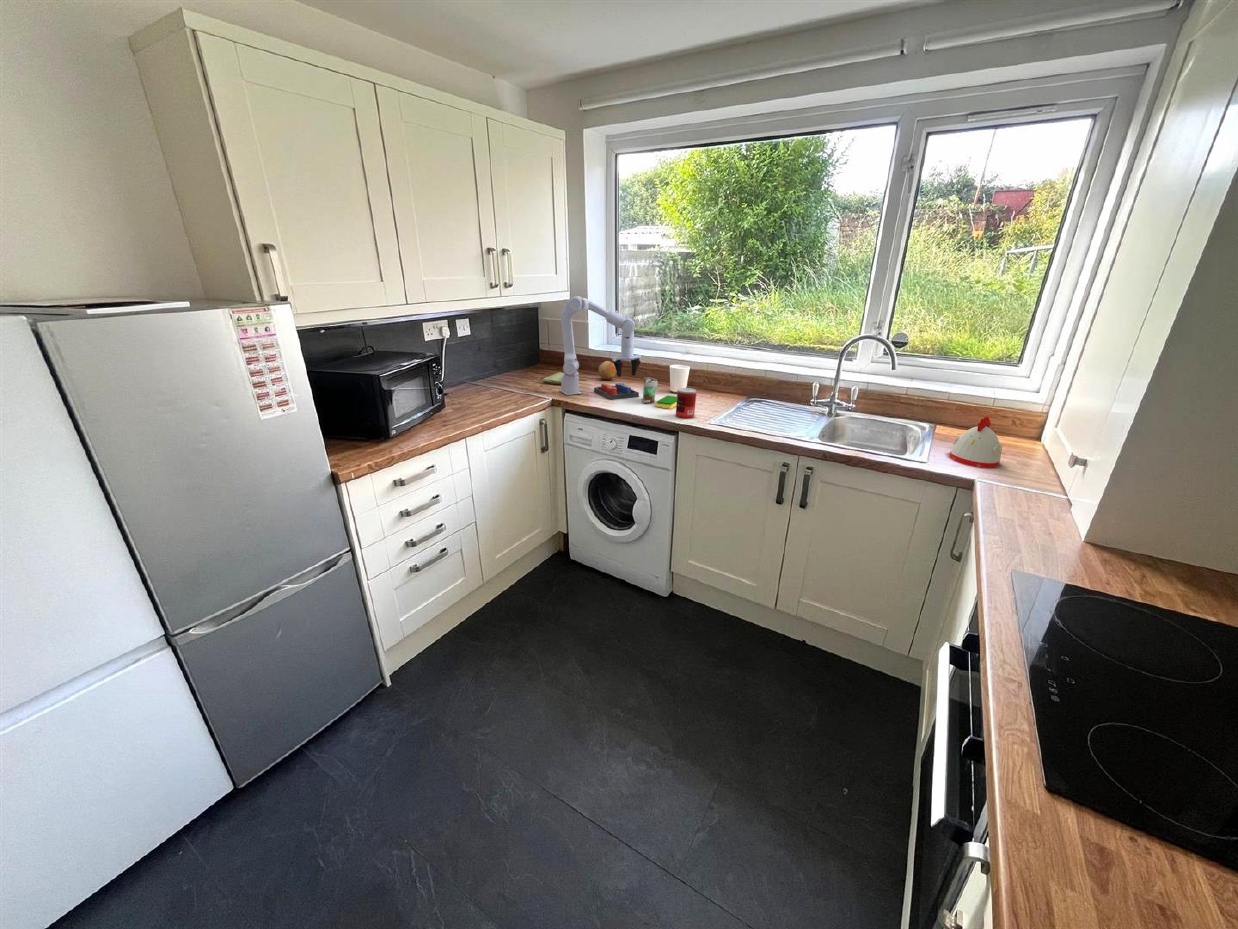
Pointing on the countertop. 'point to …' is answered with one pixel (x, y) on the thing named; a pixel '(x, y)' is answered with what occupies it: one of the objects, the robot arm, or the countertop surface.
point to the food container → (649, 390)
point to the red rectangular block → (609, 389)
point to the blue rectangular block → (623, 388)
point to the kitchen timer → (977, 447)
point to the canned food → (685, 402)
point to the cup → (678, 377)
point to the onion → (607, 370)
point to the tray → (618, 395)
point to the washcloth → (554, 379)
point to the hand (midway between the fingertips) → (626, 375)
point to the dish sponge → (667, 402)
